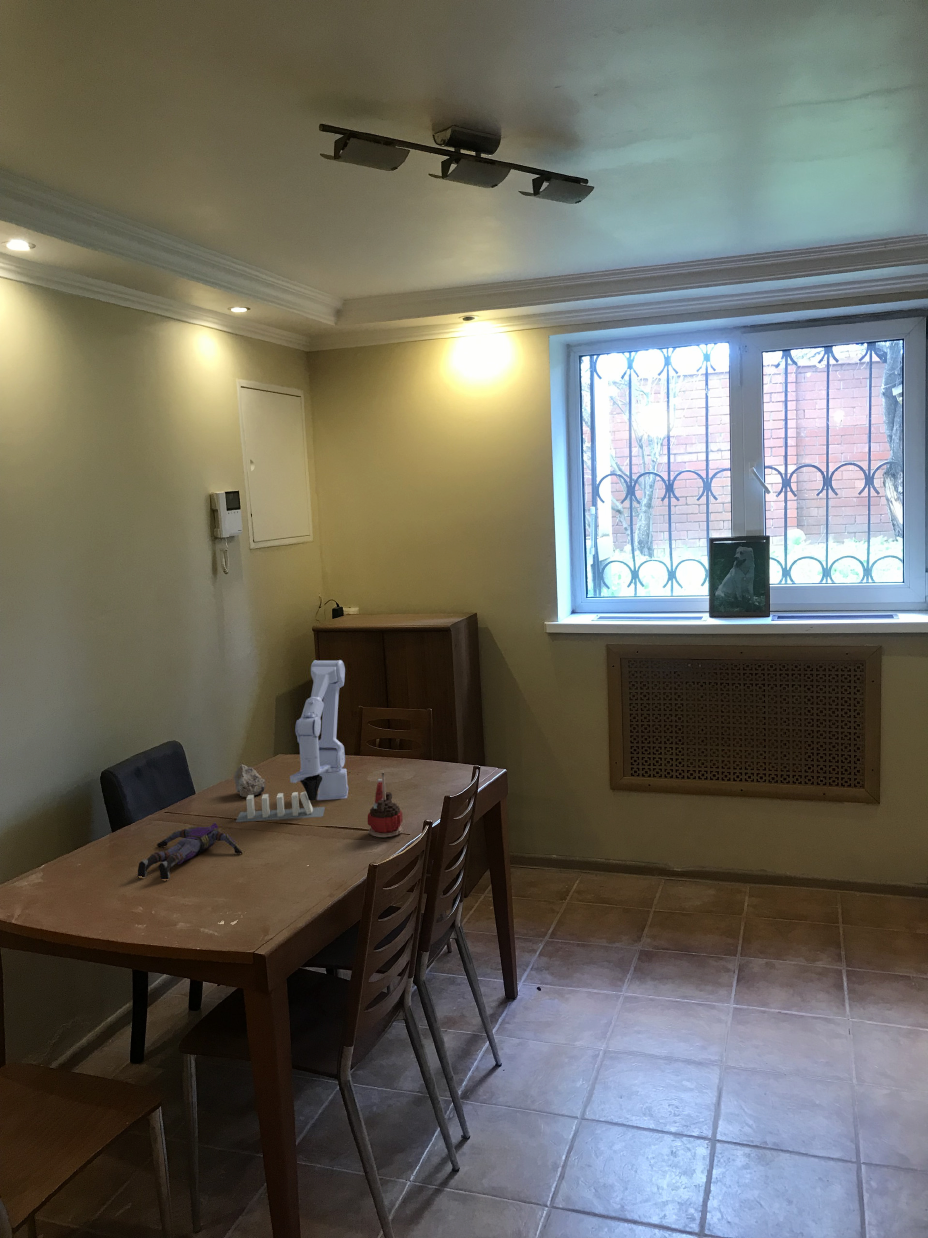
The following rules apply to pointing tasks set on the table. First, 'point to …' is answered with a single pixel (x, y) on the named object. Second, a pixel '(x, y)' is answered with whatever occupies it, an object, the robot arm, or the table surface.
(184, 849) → the figurine
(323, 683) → the robot arm
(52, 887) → the table surface
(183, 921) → the table surface
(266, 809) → the domino
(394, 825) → the cake
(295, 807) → the domino
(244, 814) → the mat
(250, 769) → the rock
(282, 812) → the domino
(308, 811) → the domino
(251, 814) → the domino
